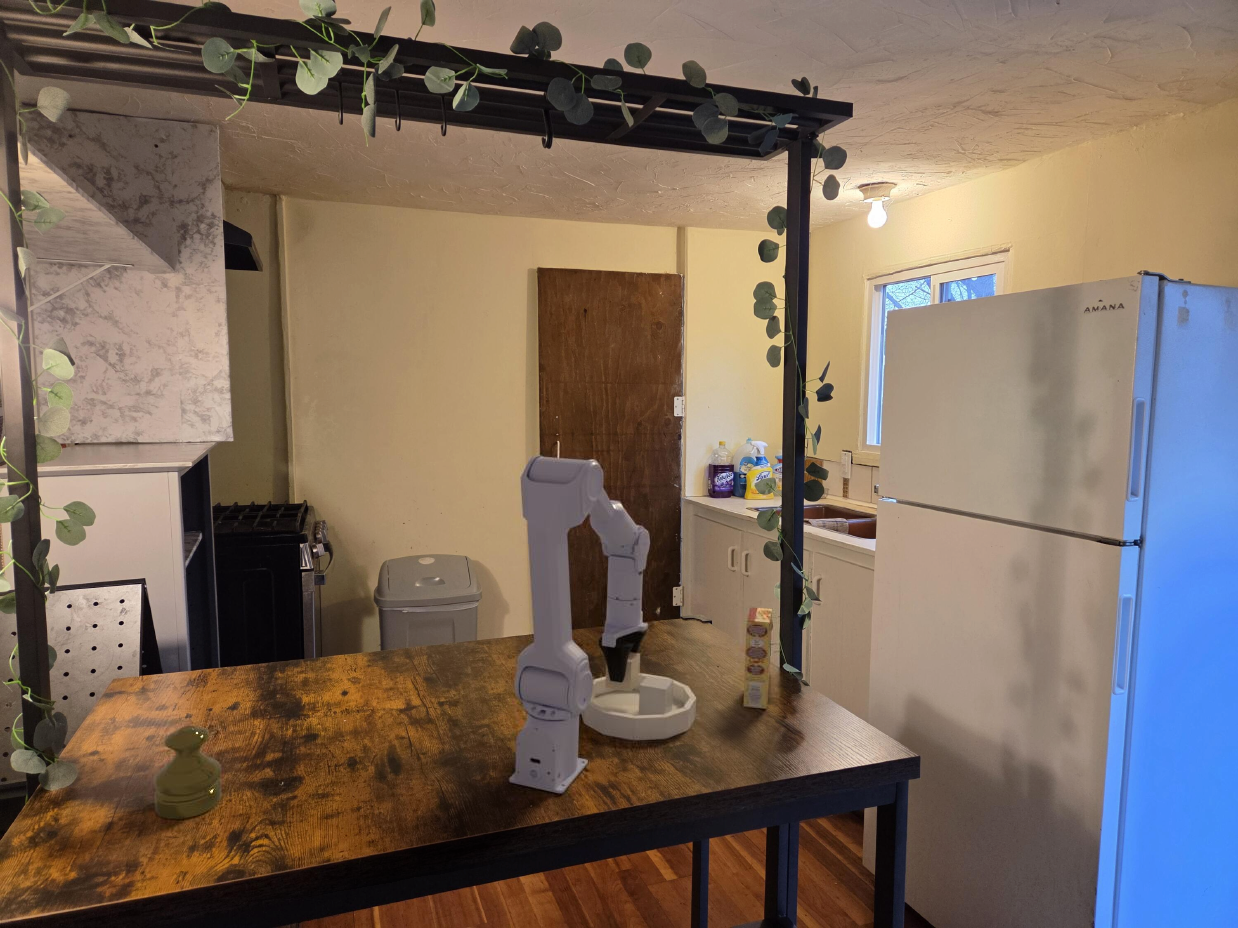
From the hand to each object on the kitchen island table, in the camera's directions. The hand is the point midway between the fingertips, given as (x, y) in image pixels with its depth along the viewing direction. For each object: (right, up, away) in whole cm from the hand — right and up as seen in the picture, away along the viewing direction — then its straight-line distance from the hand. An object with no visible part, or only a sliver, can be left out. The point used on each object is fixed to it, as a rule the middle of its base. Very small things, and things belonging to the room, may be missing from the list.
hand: (621, 675), depth 130 cm
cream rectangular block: (0, -2, 0) cm, 2 cm away
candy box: (+24, -6, +8) cm, 26 cm away
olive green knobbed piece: (-54, -8, -32) cm, 64 cm away
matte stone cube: (+6, -6, -2) cm, 8 cm away
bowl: (+3, -6, 0) cm, 7 cm away
